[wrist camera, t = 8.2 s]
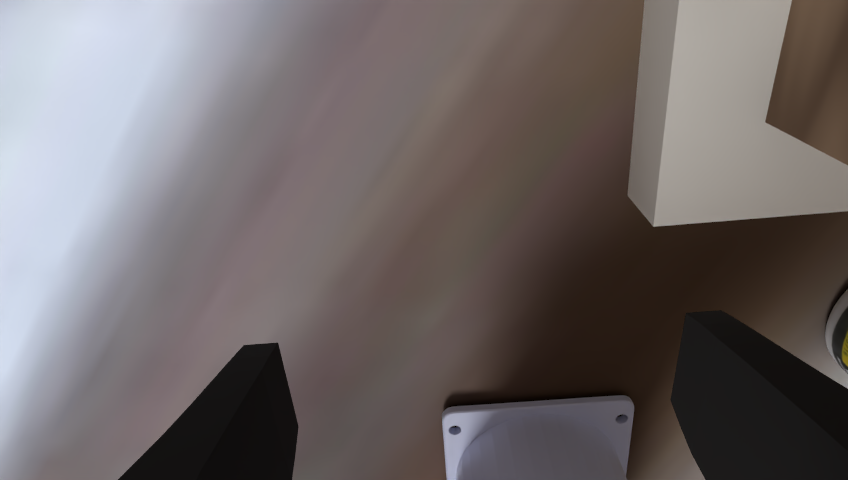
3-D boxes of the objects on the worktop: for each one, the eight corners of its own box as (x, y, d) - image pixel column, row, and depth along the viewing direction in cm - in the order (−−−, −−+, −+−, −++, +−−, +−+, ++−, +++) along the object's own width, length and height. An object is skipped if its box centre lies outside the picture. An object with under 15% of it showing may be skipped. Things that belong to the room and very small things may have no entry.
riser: (906, 166, 21) (979, 200, 18) (622, 189, 21) (653, 226, 18) (1016, -177, 16) (1137, -199, 13) (650, -143, 16) (696, -158, 14)
